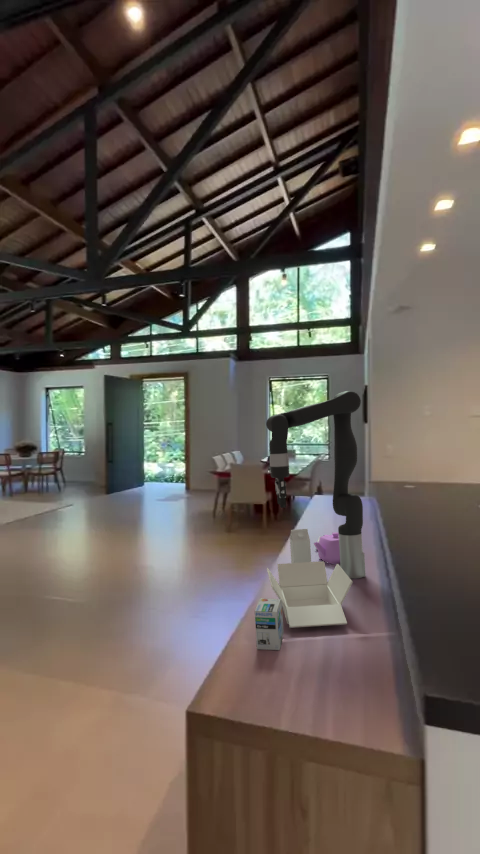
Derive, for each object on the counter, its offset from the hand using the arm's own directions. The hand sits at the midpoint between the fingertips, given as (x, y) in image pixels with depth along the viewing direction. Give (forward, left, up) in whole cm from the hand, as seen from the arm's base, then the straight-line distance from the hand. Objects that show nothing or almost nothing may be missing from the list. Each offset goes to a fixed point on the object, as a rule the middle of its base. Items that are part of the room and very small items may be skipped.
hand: (281, 505), depth 185 cm
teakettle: (-27, -29, -31) cm, 50 cm away
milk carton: (-8, -10, -31) cm, 34 cm away
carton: (-4, +31, -31) cm, 44 cm away
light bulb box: (+10, +50, -31) cm, 60 cm away
